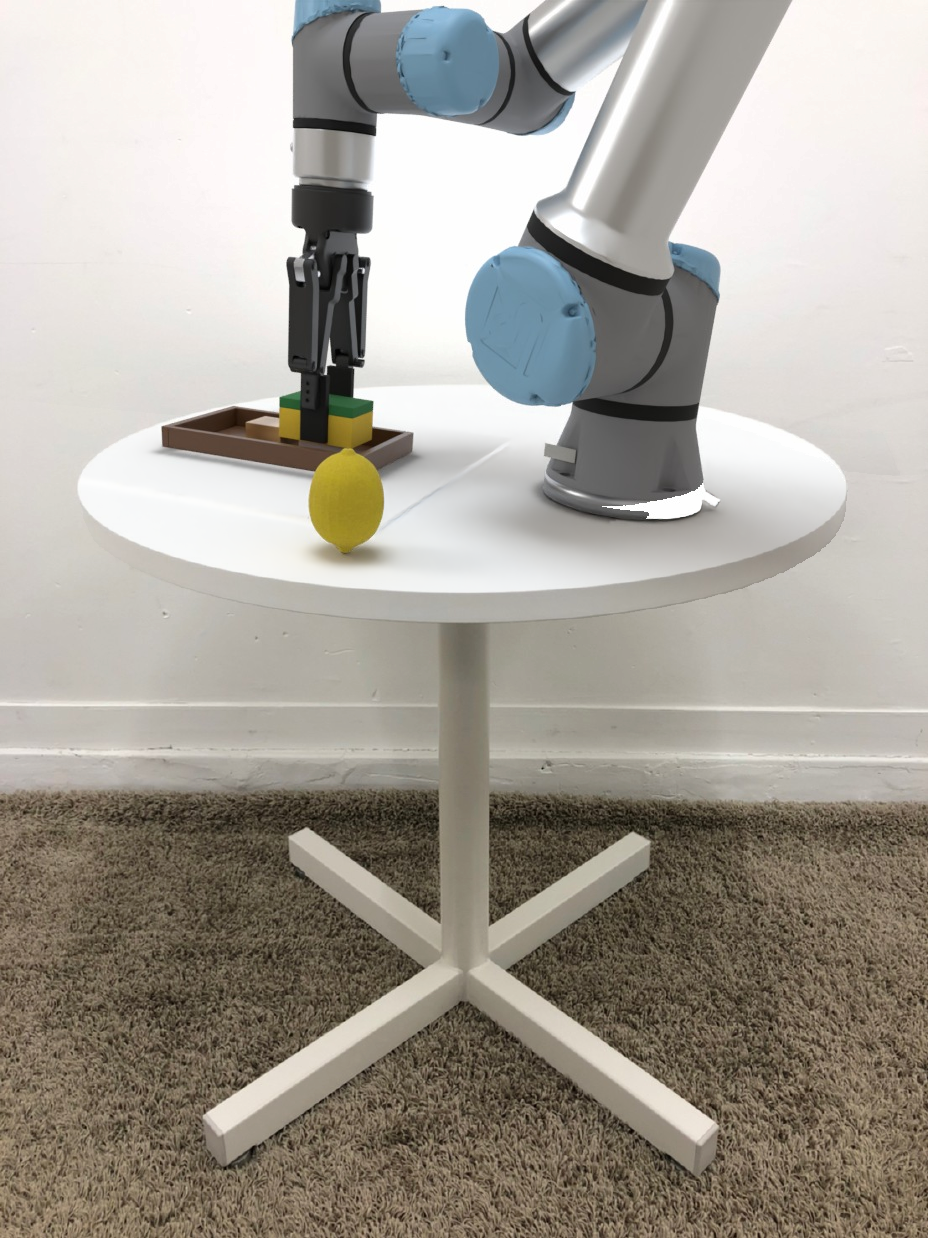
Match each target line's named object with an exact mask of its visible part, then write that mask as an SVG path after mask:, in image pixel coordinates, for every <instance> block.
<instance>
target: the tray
mask: <svg viewBox="0 0 928 1238" xmlns="http://www.w3.org/2000/svg"><path fill="white" fill-rule="evenodd" d="M264 416H268V417H275V418H279V411H278V412H277V411H272V410H264V409H258V408H251V407H244V406H237V405H231V406H228V407H224V408H221V409H217V410H214V411H210V412H207V413H203V414H199V415H196V416H192V417H189V418H186V419H182V420H178V421H174V422H172V423H168V424H165V425H161V447H162V448H168V449H174V450H179V451H180V450H181V451H187V452H193V453H198V454H204V455H205V454H206V455H211V456H216V457H217V456H218V457H223V458H229V459H235V460H242V461H247V462H248V461H249V462H255V463H261V464H266V465H273V466H278V467H285V468H290V469H297V470H303V471H309V472H313V473H315V471H316V469H317V468H318V466H319V465H320V464H321V463H322V462H323V461H324V460H325V459H327V458H328V457H330V456H331V455H334V454H336V453H340V452H341V451H342V450H343V449H344V448H343V447H337V446H331V445H325V444H319V443H313V442H307V441H301V440H299V445H290V444H284V443H278V442H271V441H265V440H259V439H252V438H246V422H248V421H251V420H255V419H258V418H261V417H264ZM413 447H414V432H413V431H406V430H401V429H400V430H399V429H393V428H387V427H380V426H374V425H372V440H370V441H368V442H366V443H363V444H361V445H359V446H357V447H355V448H352V449H353V450H354V452H355V453H357V454H359V455H361V456H363V457H365V458H366V459H367V460H369V461H370V462H371V463H372V464H373V465H374V467H375V468H376V470H377V471H378V470H380V469H382V468H385V467H386V466H388V465H390V464H392V463H393V462H396V461H398V460H399V459H401V458H403V457H405V456H407V455H409V454H411V453H412V452H413Z"/></svg>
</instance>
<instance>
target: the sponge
mask: <svg viewBox="0 0 928 1238" xmlns="http://www.w3.org/2000/svg"><path fill="white" fill-rule="evenodd" d="M300 396H301V390H299V391H295V392H292V393H289V394H285V395H282V396H279V399H278V400H279V401H278V402H279V403H278V404H279V408H278V413H279V437H283V438H289V439H295V440H300ZM373 421H374V400H370V399H364V398H357V397H353V398H351V397H345V396H338V395H332V394H329V418H328V442H327V443H325V445H331V446H337V447H343V448H351V449H352V448H355V447H357V446H359V445H361V444H363V443H366V442H368V441H370V440H372V426H373V423H374V422H373ZM301 441H305V440H301ZM307 442H311V441H307ZM313 443H317V442H313ZM319 444H323V443H319Z"/></svg>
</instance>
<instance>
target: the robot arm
mask: <svg viewBox="0 0 928 1238" xmlns="http://www.w3.org/2000/svg"><path fill="white" fill-rule="evenodd" d="M792 2H793V0H544V1H543V2H542V3H540V4H539V5H538V6H537V7H535V9H533V10H532V11H530V12H529V13H528V14H527V15H526V16H525V17H523V18H522V19H521V20H520V21H518V22H517V23H516V24H515V25H513V26H512V27H511V28H510V29H508V30H507V31H505V32H504V33H503V32H499V31H496V30H493V29H492V28H491V27H490V26H489V25H487V23H486V19H485V18H484V17H483V16H482V14H480V13H479V12H477V11H475V10H473V9H470V8H458V7H457V8H453V7H451V8H450V7H447V6H445V5H436V6H435V5H433V6H432V7H426V8H423V9H411V10H409V9H408V10H397V11H384V12H382V2H381V0H295V1H294V13H293V14H294V15H293V28H292V29H293V30H292V35H291V38H290V41H291V46H292V119H293V120H292V142H291V143H290V145H289V149H290V151H291V152H292V172H291V173H292V176H293V177H294V178H297V179H298V184H293V188H291V216H290V218H291V220H290V222H291V224H292V226H293V227H295V228H297V229H302V230H304V232H305V235H304V241H303V244H302V245H303V246H302V250H301V251H302V253H301V255H299V257H295V256H288V257H287V258H286V262H285V263H286V265H285V267H286V273H287V279H288V325H287V326H288V330H287V331H288V333H287V334H288V336H287V345H288V346H287V365H288V368H289V370H290V372H291V373H296V374H297V373H298V374H300V391H301V396H300V440H305V441H311V442H317V443H323V444H325V443H327V442H328V418H329V394H332V395H338V396H345V397H351V398H354V396H355V393H354V392H355V390H354V389H355V368H359V369H363V368H364V366H365V365H366V364H365V363H366V360H365V359H364V358H365V357H366V348H367V347H366V346H367V344H366V343H367V318H368V317H367V314H368V288H369V278H370V272H371V266H372V260H371V258H370V257H369V256H363V255H362V256H361V255H359V253H360V252H359V244H358V236H357V235H358V234H359V235H360V234H361V235H366V234H370V233H371V232H372V230H373V223H374V222H373V221H374V201H375V200H374V198H375V197H374V195H372V194H373V192H372V191H370V190H369V185H373V184H374V183H375V182H376V163H377V161H376V160H377V159H376V158H377V124H378V115H384V114H388V115H389V114H390V115H391V114H392V115H408V116H409V115H412V116H423V117H428V118H433V119H438V120H444V121H449V122H455V123H460V124H466V125H473V126H478V127H481V128H486V129H491V130H495V131H499V132H504V133H507V134H510V135H514V136H518V137H519V136H521V137H525V136H543V135H548V134H550V133H552V132H554V131H555V130H557V129H558V128H560V127H561V125H563V123H564V122H565V121H566V118H567V117H568V115H569V113H570V111H571V109H573V105H574V103H575V98H576V92H578V91H579V90H580V89H582V88H583V87H584V86H586V85H587V84H588V83H590V82H591V81H592V80H594V79H595V78H596V77H598V76H599V75H600V74H602V73H603V72H604V71H606V70H607V69H608V68H610V67H611V66H613V65H614V64H615V63H616V62H617V61H619V60H621V61H620V62H619V65H618V67H617V69H616V72H615V74H614V77H613V79H612V81H611V83H610V85H609V87H608V90H607V92H606V95H605V97H604V99H603V101H602V104H601V106H600V108H599V110H598V113H597V115H596V117H595V119H594V122H593V123H592V126H591V128H590V131H589V133H588V136H587V138H586V140H585V142H584V144H583V147H582V149H581V151H580V154H579V156H578V158H577V160H576V162H575V165H574V167H573V170H572V172H571V174H570V176H569V179H568V181H567V184H566V185H565V187H563V189H561V191H559V192H557V193H554V194H552V195H549V196H547V197H544V198H542V199H540V200H538V201H537V202H536V203H535V206H534V208H533V210H532V212H531V214H530V216H529V219H528V222H527V224H526V226H525V228H524V230H523V232H522V234H521V237H520V240H519V242H518V244H517V245H513V246H508V247H507V248H505V249H503V250H502V251H500V252H499V253H497V254H495V255H492V256H491V257H490V258H488V259H487V260H486V261H485V262H484V263H483V264H482V265H481V267H480V268H479V269H478V271H477V272H476V274H475V275H474V277H473V279H472V281H471V284H470V286H469V289H468V293H467V296H466V302H465V307H464V308H465V310H464V327H465V335H466V340H467V343H469V344H470V347H471V351H472V355H471V357H472V359H473V361H474V364H475V366H476V368H477V369H478V371H479V373H480V375H482V377H483V379H484V380H485V382H487V383H488V384H489V386H490V387H491V388H492V389H494V391H496V392H497V393H498V394H500V395H501V396H502V397H504V398H506V399H508V400H509V401H511V402H513V403H516V404H519V405H523V406H531V407H537V406H543V407H552V408H553V407H554V408H557V407H558V408H559V407H561V406H566V405H568V404H569V405H570V404H571V410H570V414H569V417H568V419H567V420H566V422H565V426H564V428H563V430H562V432H561V435H560V437H559V439H558V441H557V443H556V444H551V443H547V442H545V443H544V450H543V457H547V458H550V460H549V461H548V464H547V466H546V468H545V470H544V478H543V489H542V491H543V493H544V494H545V495H546V496H547V497H548V498H550V500H553V501H554V502H556V503H558V504H561V505H563V506H565V507H568V508H571V509H573V510H577V511H581V512H585V513H589V514H594V515H599V516H605V517H609V518H618V519H626V520H638V521H640V520H641V521H648V520H647V519H646V518H647V516H649V513H648V512H644V511H630V510H620V509H613V508H607V507H602V506H623V505H625V506H626V505H635V504H639V503H647V502H650V501H657V500H663V499H667V498H672V497H675V496H681V495H684V494H687V493H689V492H691V491H695V490H696V489H698V487H700V485H702V483H703V480H704V474H703V473H704V472H703V468H702V467H703V466H702V460H701V453H700V446H699V439H698V433H697V420H698V414H699V408H700V402H701V397H702V392H703V386H704V385H703V384H704V380H705V375H706V374H705V373H706V369H707V363H708V357H709V351H710V345H711V340H712V334H713V330H714V323H715V318H716V312H717V306H718V305H719V302H720V298H721V293H720V291H719V290H720V283H721V282H720V281H721V269H722V268H721V264H720V260H719V259H718V258H717V257H716V255H714V254H713V253H712V252H710V251H708V250H706V249H704V248H700V247H698V246H693V245H690V244H685V243H680V242H679V243H678V242H673V241H670V237H671V235H672V233H673V231H674V229H675V227H676V225H677V223H678V221H679V219H680V217H681V216H682V213H683V212H684V210H685V208H686V206H687V204H688V202H689V200H690V198H691V196H692V194H693V192H694V191H695V189H696V187H697V184H698V183H699V181H700V179H701V177H702V175H703V173H704V171H705V169H706V167H707V166H708V163H709V162H710V159H711V158H712V156H713V154H714V152H715V150H716V148H717V146H718V145H719V142H720V140H721V139H722V137H723V135H724V133H725V131H726V129H727V127H728V125H729V124H730V121H731V119H732V118H733V116H734V114H735V112H736V110H737V108H738V106H739V104H740V102H741V101H742V100H741V99H742V98H743V96H744V95H745V92H746V91H747V88H748V87H749V85H750V84H751V81H752V80H753V77H754V75H755V73H756V71H757V70H758V68H759V65H760V63H761V61H762V60H763V58H764V56H765V54H766V52H767V50H768V48H769V47H770V44H771V42H772V40H773V39H774V36H775V35H776V33H777V31H778V29H779V27H780V25H781V23H782V21H783V20H784V18H785V16H786V14H787V12H788V10H789V8H790V6H791V4H792ZM329 346H330V357H331V358H330V359H331V363H332V364H333V365H332V364H329V365H327V359H328V352H329ZM325 373H326V374H325Z"/></svg>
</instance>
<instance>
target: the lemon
mask: <svg viewBox="0 0 928 1238" xmlns="http://www.w3.org/2000/svg"><path fill="white" fill-rule="evenodd" d="M308 492H309V493H308V512H309V517H310V521H311V523H312V527H314V529H315V531H316V533H317V534H318V535H319V537H321V538H322V539H323V540H324V541H326V542H327V543H329V544H331V545H333V546H335V547H336V548H337V549H338V550H339V552H341V553H343V554H348V553H350V552H351V551H352V550H353V549H354V548H355V547H357V546H359V545H362V544H364V543H366V542H368V541H369V540H370V539H371V538H372V537H373V536H375V534H376V533H377V530H378V529H379V526H380V524H381V522H382V519H383V515H384V510H385V492H384V487H383V482H382V478H381V476H380V474H379V471H378V470H376V468H375V467H374V465H373V464H372V463H371V462H370V461H369V460H367V459H366V458H365V457H363V456H361V455H359V454H357V453H355V452H354V450H353V449H351V448H344V449H343V450H342V451H341V452H340V453H336V454H334V455H331V456H330V457H328V458H327V459H325V460H324V461H323V462H322V463H321V464H320V465H319V466H318V468H317V469H316V471H315V472H313V476H312V479H311V482H310V487H309V491H308Z"/></svg>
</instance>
